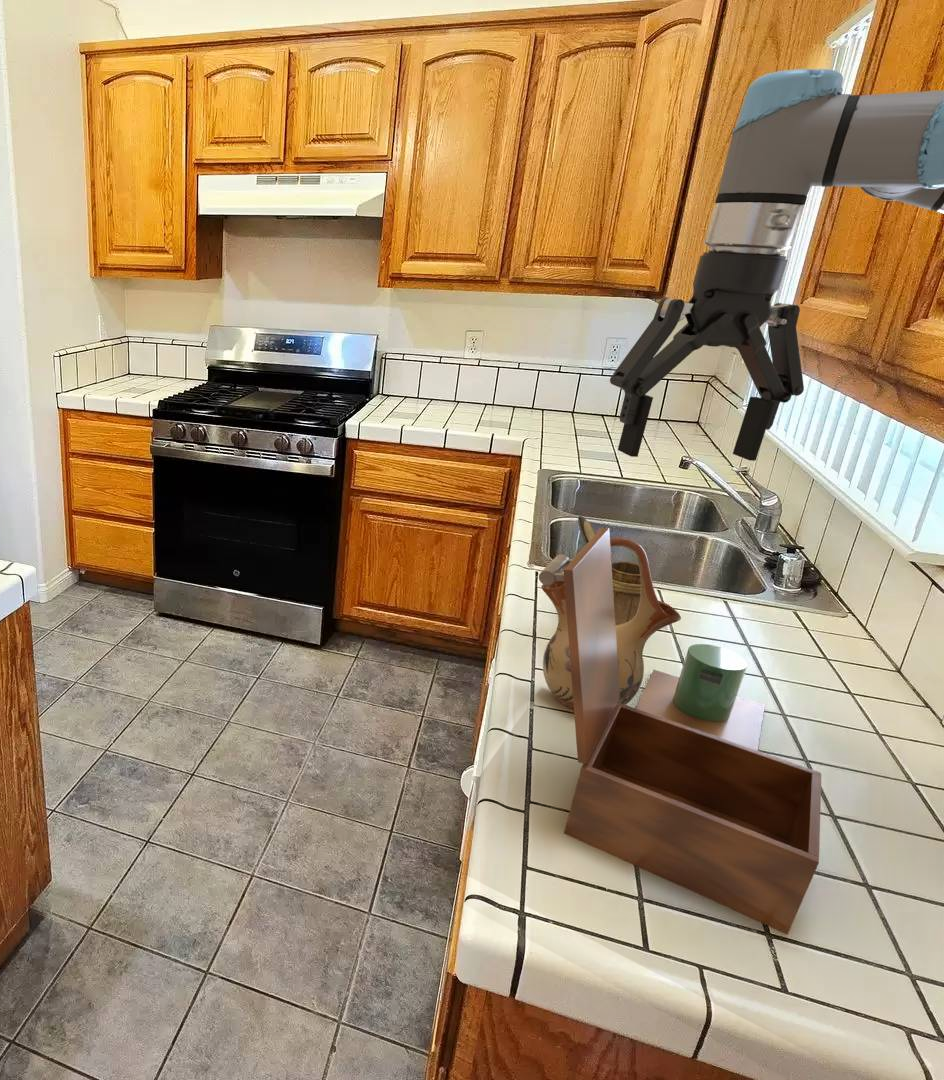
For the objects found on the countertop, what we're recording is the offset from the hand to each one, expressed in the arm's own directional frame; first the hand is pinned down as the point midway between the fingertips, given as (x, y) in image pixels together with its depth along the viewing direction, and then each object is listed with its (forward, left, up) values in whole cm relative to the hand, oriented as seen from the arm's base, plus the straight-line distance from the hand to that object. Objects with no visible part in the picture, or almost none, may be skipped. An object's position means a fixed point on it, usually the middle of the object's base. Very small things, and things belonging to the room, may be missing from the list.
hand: (685, 455), depth 84 cm
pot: (-9, -14, -37) cm, 40 cm away
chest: (-10, +16, -37) cm, 42 cm away
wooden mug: (+8, -32, -37) cm, 50 cm away
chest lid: (+2, +16, -17) cm, 24 cm away
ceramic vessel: (+4, -4, -37) cm, 38 cm away
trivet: (-9, -14, -37) cm, 41 cm away
